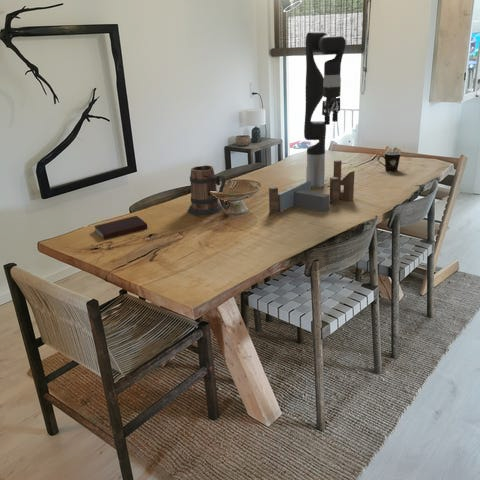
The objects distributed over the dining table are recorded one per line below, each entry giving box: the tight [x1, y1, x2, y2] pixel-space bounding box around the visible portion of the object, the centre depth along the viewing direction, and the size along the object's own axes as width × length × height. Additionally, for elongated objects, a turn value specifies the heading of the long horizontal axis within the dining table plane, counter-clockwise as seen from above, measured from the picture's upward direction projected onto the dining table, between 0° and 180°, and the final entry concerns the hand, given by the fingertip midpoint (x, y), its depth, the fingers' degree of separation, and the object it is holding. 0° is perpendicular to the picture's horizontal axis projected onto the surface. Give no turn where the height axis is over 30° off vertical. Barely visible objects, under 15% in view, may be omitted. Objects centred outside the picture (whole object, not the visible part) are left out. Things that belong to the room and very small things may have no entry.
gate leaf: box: [278, 180, 312, 213], centre depth 222 cm, size 2×27×8 cm, turn 141°
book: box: [94, 215, 148, 240], centre depth 203 cm, size 12×19×3 cm, turn 123°
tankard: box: [187, 164, 231, 217], centre depth 218 cm, size 24×17×20 cm
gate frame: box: [268, 176, 340, 216], centre depth 216 cm, size 3×34×12 cm, turn 111°
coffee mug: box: [377, 151, 402, 173], centre depth 270 cm, size 12×9×10 cm
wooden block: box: [332, 159, 355, 202], centre depth 225 cm, size 4×11×18 cm, turn 40°
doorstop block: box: [293, 190, 330, 213], centre depth 217 cm, size 16×4×7 cm, turn 51°
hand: (331, 123), depth 215 cm, fingers open, 8 cm apart
